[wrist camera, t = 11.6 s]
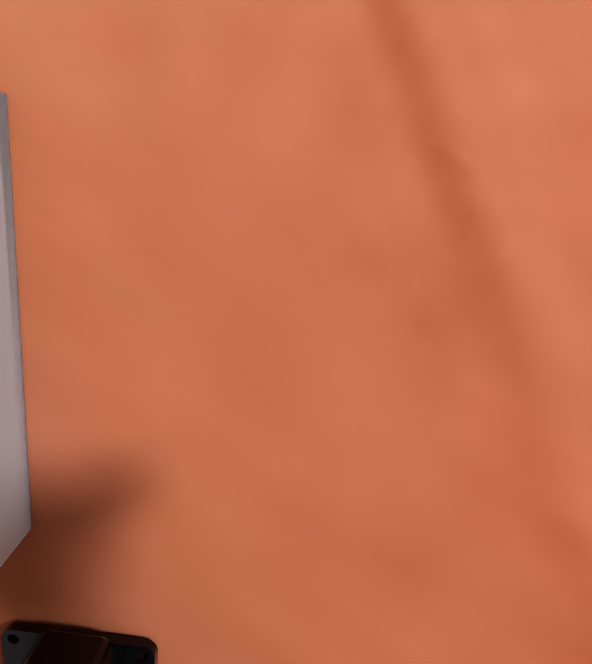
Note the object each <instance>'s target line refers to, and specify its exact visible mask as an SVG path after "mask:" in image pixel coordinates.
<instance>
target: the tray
mask: <svg viewBox="0 0 592 664" xmlns="http://www.w3.org/2000/svg"><path fill="white" fill-rule="evenodd" d="M31 528H32V521H31V504H30V487H29V470H28V453H27V436H26V419H25V402H24V385H23V368H22V351H21V334H20V317H19V300H18V283H17V266H16V249H15V232H14V215H13V198H12V181H11V164H10V147H9V130H8V113H7V96H6V93H0V567H1V566H2V565H3V564H4V562H5V561H6V560H7V559H8V557H9V556H10V555H11V554H12V552H13V551H14V550H15V549H16V547H17V546H18V545H19V543H20V542H21V541H22V540H23V538H24V537H25V536H26V535H27V533H28V532H29V531H30V529H31Z"/></svg>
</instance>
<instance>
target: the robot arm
mask: <svg viewBox="0 0 592 664" xmlns="http://www.w3.org/2000/svg"><path fill="white" fill-rule="evenodd" d="M1 638H2V650H3V662H4V664H157V659H158V649H157V646H156V644H155V643H154V642H152V641H151V640H148V639H142V638H134V637H127V636H119V635H111V634H104V633H96V632H89V631H81V630H74V629H66V628H58V627H51V626H43V625H36V624H28V623H21V622H12V623H10V624H9V625H8V626H7V628H6V629H5V630H4V632H3V633H2V637H1ZM145 652H146V653H145Z"/></svg>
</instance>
